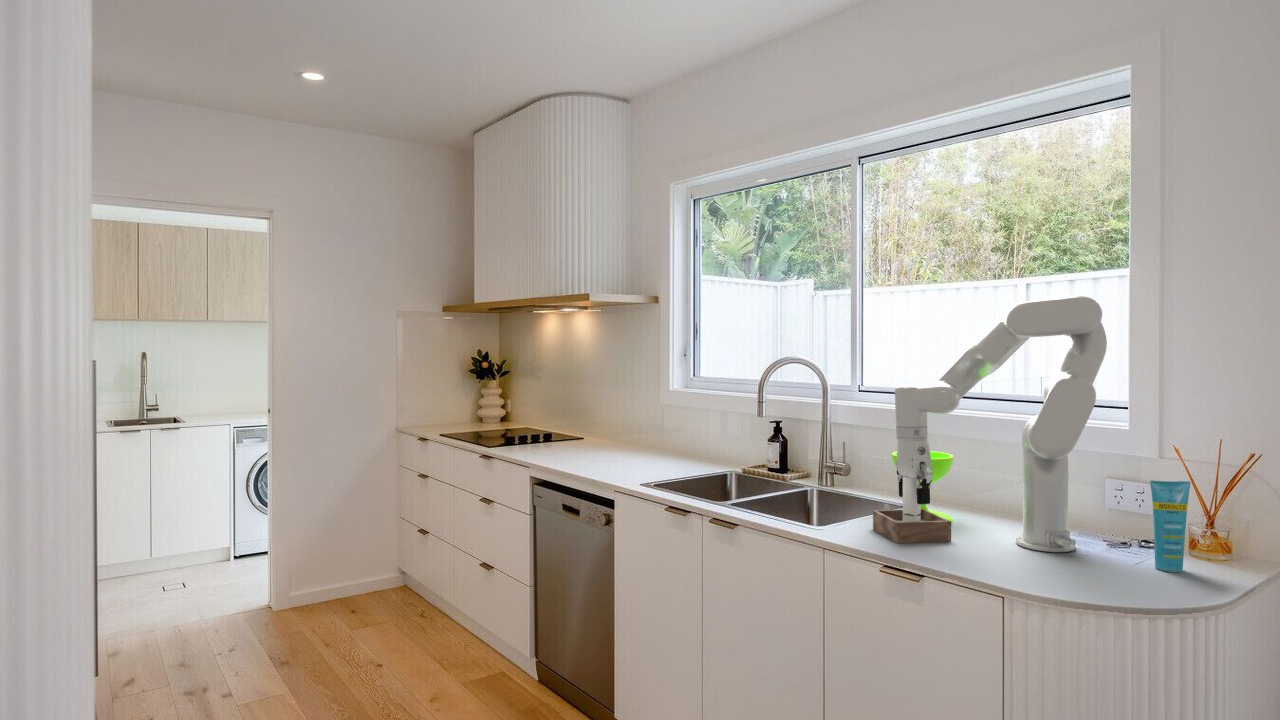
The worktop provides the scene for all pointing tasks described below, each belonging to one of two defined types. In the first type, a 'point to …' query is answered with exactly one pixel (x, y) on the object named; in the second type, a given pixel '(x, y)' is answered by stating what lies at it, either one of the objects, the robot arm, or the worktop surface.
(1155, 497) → the tube
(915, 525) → the open wooden box
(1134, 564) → the worktop surface
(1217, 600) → the worktop surface
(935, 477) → the wineglass
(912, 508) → the tube
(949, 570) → the worktop surface
